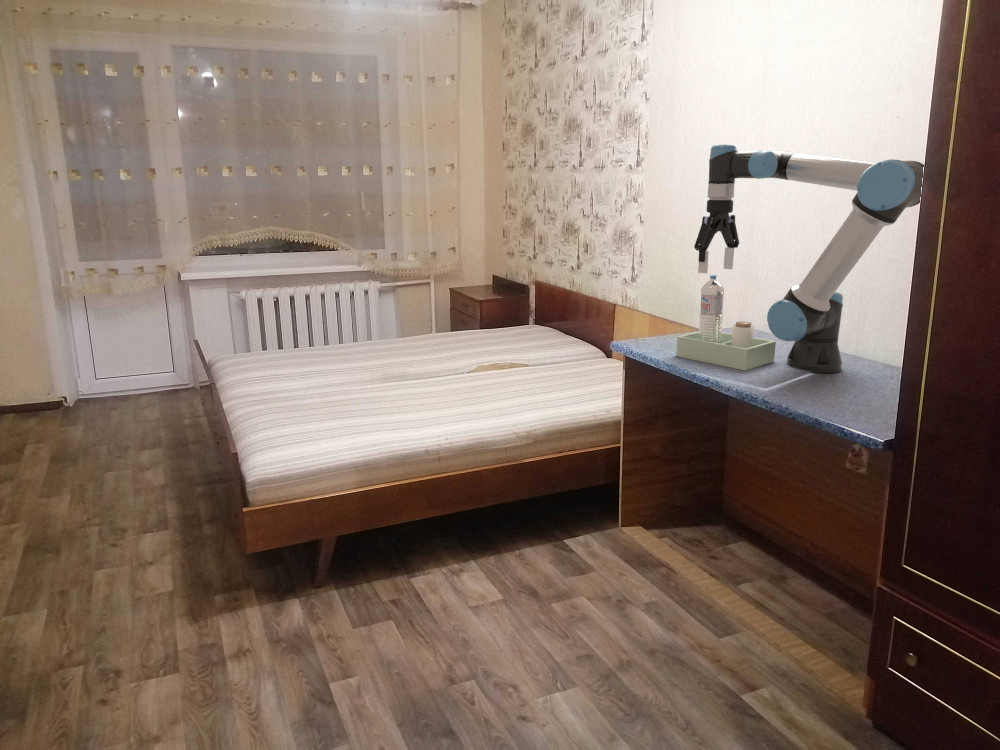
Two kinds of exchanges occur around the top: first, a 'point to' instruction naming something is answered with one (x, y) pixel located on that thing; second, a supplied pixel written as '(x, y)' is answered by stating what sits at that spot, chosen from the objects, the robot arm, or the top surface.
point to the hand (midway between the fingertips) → (715, 271)
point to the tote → (726, 351)
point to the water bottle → (711, 311)
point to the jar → (742, 334)
